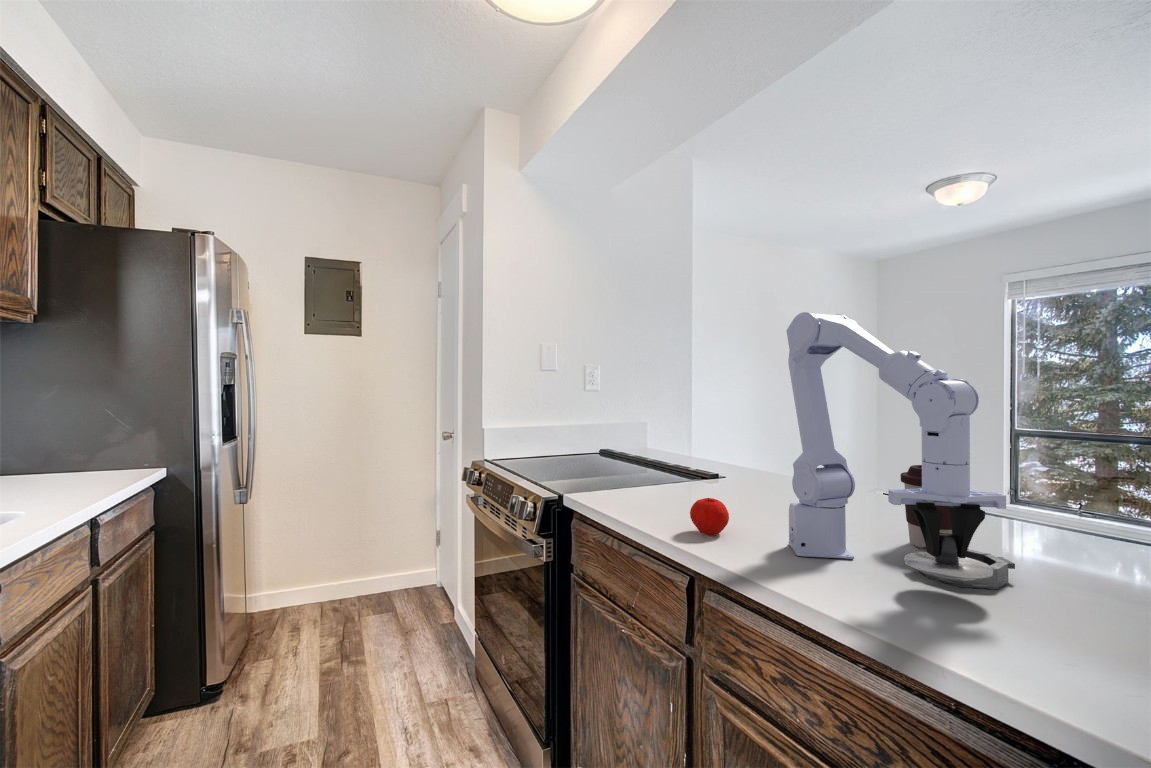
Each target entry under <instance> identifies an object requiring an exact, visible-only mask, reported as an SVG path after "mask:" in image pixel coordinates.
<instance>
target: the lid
mask: <svg viewBox="0 0 1151 768" xmlns="http://www.w3.org/2000/svg"><path fill="white" fill-rule="evenodd" d="M939 544H940V552H939V557H934V556H932V555H930V554H929V553H927V552H916V553H915V552H909V553H910V554H909V553H908V554H905V555H904V559H903V560H904V563H905V564H906V565H907V566H909V567H910V568H912V569H914V570H916V571H918V570H920V571H921V572H923V573H925V574H928V575H931V576H934V577H938V578H943V579H949V580H959V581H969V580H975V579H983V578H989V577H991V576H992V575H993V568H992V567H991V566H989V565H988V564H986V563H983V562H981V561H978V560H974V559H971V558H967V557H965V558H959V555H958V536H957V535H955V534H950V533H942V532H940V533H939ZM920 571H919V572H920ZM921 572H920V573H921Z"/></svg>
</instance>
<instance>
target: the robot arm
mask: <svg viewBox="0 0 1151 768" xmlns="http://www.w3.org/2000/svg"><path fill="white" fill-rule="evenodd" d="M786 338H787V342H788V348H789V350H788V352H789V353H788V361H787V362H788V370H789V376H790V382H791V387H792V388H791V389H792V394H793V399H794V405H795V407H794V408H795V413H796V418H797V424H798V426H797V427H798V431H799V432H798V433H799V436H800V442H801V449H802V453H800V455H799V456H798V457H797V458H796V459H795V461H794V462H793V464H792V467H793V476H792V481H791V482H792V490H793V493H794V494H795V496H796V498H797V499H798V500H799V502H791V503H790V504H789V505H788V506H789V507H788V545H789V546H790V548H791V549H792V551H793V552H794V553H795V555H796V556H797V557H805V558H806V557H810V558H812V557H813V558H828V559H829V558H830V559H832V558H833V559H845V560H847V559H848V560H853V559H855V556H854V555H853V554H852V553H851V551H849V550H848V549H847V538H846V537H847V534H846V533H847V531H846V530H847V529H846V528H847V526H846V505H847V504H849V498H851V497H852V496H853V494H854V492H855V490H856V488H855V487H856V481H855V478H854V476H853V474H852V472H851V471H850V469H849V466H848V463H847V462H848V461H847V459H846V458H845V457H844V456H843V455H842V454H841V453H840V452H839V451H837V449H835V443H834V437H833V432H832V431H833V430H832V424H831V420H830V419H831V418H830V415H829V409H828V402H827V397H826V392H825V387H824V380H823V374H822V368H821V367H822V366H823V365H824V364H825V362H826V361H827V360H829V359H830V358H831V357H832V356H833V355H835V354H836V353H838V351H840V349H841V350H842V348H844V349H846V350H848V351H850V352H851V353H853V354H855V355H856V356H857V357H859V358H861V359H862V360H864V361H866V362H867V363H869V364H871V365H872V366H875V368H877V369H878V376H879V379H880V380H881V381H882V382H883V383H885V384H887V385H888V386H889V387H891V388H892V389H893V390H895V391H896V392H898V393H899V394H901V395H902V396H904V397H905V398H906V399H908V400H909V401H910V403H911V406H912V409H913V411H914V412H915V414H916V415H917V417H918V419H919V427H920V428H921V465H922V489H905V488H903V489H901V488H900V489H897V488H896V489H895V488H894V489H888V493H887V495H888V503H890V504H891V505H893V506H901V505H905V504H909V507H910V509H911V511H912V513H913V514H914V516H915V518H916V520H917V522H918V524H919V526H920V529H921V531H922V534H923V537H924V541H925V544H926V549H927V553H929V554H930V555H932V556H934V557H939V552H940V544H939V533H940V525H941V520H942V516H943V514H942V513H941V512H939V511H937V508H935V505H940V506H948V508H949V512H950V518H951V525H952V534H955V535H957V536H958V555H959V558H965V557H966V553H967V550H968V549H969V546H970V544H971V540H972V539H973V536H974V535H975V534H976V533H975V532H976V531H977V529H978V528H979V526H980V525H981V523H983V521H984V520H985V519H986V511H985V510H983V509H981V508H996V509H1001V510H1007V495H1005V494H1003V493H1001V492H992V491H991V492H988V491H987V492H986V491H976V490H971V452H970V451H971V446H970V445H971V437H970V436H971V435H970V434H971V432H970V430H971V429H970V428H971V425H970V424H971V422H970V420H971V418H970V416H971V415H973V414H974V413H975V411H977V410H978V406H979V403H980V400H979V398H980V397H979V393H978V391H977V390H976V389H975V387H974V386H972V385H971V384H970V383H969V382H968V381H967V380H965V379H961V378H954V379H953V378H952V379H949V377H948V373H947V372H946V371H945V370H943V369H936V368H935V367H933V366H931V365H930V364H928V363H926V362H925V361H923V360H921V357H922V354H920V353H918V352H917V351H908V350H899V351H896V352H894V350H892V349H891V348H889V347H888V346H886V345H885V344H884V343H882V342H881V341H880V340H878V338H876V337H874V336H873V335H871V334H870V333H869V332H867V331H866V330H865V329H863V328H862V327H861V326H859V324H858V323H857V321H856V320H853V319H850V318H849V317H848V316H846V315H844V314H840V313H836V314H827V313H811V312H809V311H808V312H807V311H803V312H800V313H798V314H797V315H796V316H794V318H793V319H792V320H791V322H790V324H789V325H788V327H787V328H786ZM819 466H822V467H819Z"/></svg>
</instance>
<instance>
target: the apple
mask: <svg viewBox="0 0 1151 768" xmlns="http://www.w3.org/2000/svg"><path fill="white" fill-rule="evenodd" d="M729 515H730V513H729V510H728V508H727V507H726V505H725V504H724V503H723V502H722V501H720V500H719V499H715V498H712V497H705V498H701V499H697V500H696V501H695V502H694V503H693V504H692V506H691V507H690V511H689V518H690V520H691V522H692V523H693V525H694V526H695V528H696V529H697V530H698V531H699V532H700V533H701V534H703V535H707V536H717V535H719V534H721V533H722V532H723V530H724V529H725V528H726V526H727V525H728V524H729V521H730V516H729Z"/></svg>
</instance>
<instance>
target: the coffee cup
mask: <svg viewBox="0 0 1151 768" xmlns="http://www.w3.org/2000/svg"><path fill="white" fill-rule="evenodd" d="M900 483H903V484H904V489H922V464H914V465H910V466H909V468H908V470H907V471H904V472H901V473H900ZM935 508H937V511H939V512H941V513H942V514H943V516H942V520H941V525H940V532H942V533H950V534H952V525H951V518H950V512H949V508H948V506H940V505H935ZM904 510H905V519H906V522H907V527H908V539H909V543H910V544H911V545H913V547H917V548H918V549H920V548H923V547H925V546H926V544H925V541H924V537H923V534H922V531H921V529H920V526H919V524H918V522H917V520H916V518H915V516H914V514H913V513H912V511H911V509H910V507H909V504H904Z"/></svg>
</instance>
